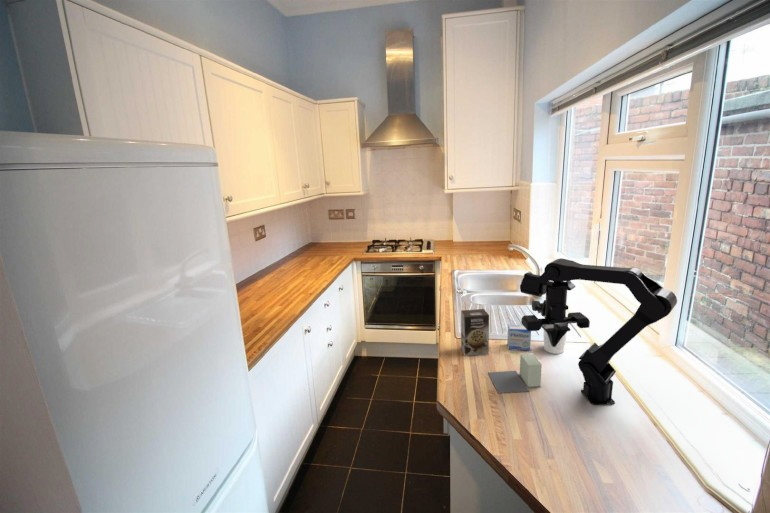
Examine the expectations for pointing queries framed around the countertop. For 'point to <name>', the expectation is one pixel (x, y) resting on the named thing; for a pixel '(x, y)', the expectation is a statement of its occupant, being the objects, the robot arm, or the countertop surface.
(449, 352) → the countertop surface
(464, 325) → the brown cookie box
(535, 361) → the sage block
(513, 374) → the mat
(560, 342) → the white cup
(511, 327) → the medicine box
